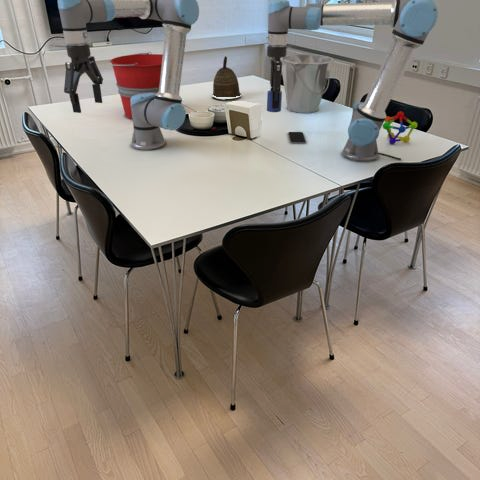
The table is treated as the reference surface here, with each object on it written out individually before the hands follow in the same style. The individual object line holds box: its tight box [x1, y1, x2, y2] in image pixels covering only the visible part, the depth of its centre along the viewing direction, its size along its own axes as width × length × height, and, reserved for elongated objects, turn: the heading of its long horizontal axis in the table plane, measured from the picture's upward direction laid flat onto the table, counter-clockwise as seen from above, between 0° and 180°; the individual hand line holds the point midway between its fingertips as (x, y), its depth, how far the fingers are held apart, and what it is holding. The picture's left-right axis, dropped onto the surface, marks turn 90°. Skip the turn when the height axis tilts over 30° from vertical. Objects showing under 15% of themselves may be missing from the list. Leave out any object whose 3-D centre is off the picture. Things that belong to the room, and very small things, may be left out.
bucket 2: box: [280, 53, 334, 114], centre depth 253 cm, size 30×30×28 cm
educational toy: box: [382, 110, 418, 145], centre depth 207 cm, size 16×13×15 cm
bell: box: [212, 56, 242, 97], centre depth 278 cm, size 19×26×20 cm
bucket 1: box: [107, 51, 163, 121], centre depth 241 cm, size 35×35×30 cm
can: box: [266, 89, 283, 113], centre depth 182 cm, size 6×6×8 cm
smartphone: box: [288, 131, 307, 144], centre depth 215 cm, size 7×1×15 cm
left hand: (88, 107), depth 161 cm, fingers open, 13 cm apart
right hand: (274, 105), depth 183 cm, fingers closed on can, 6 cm apart
